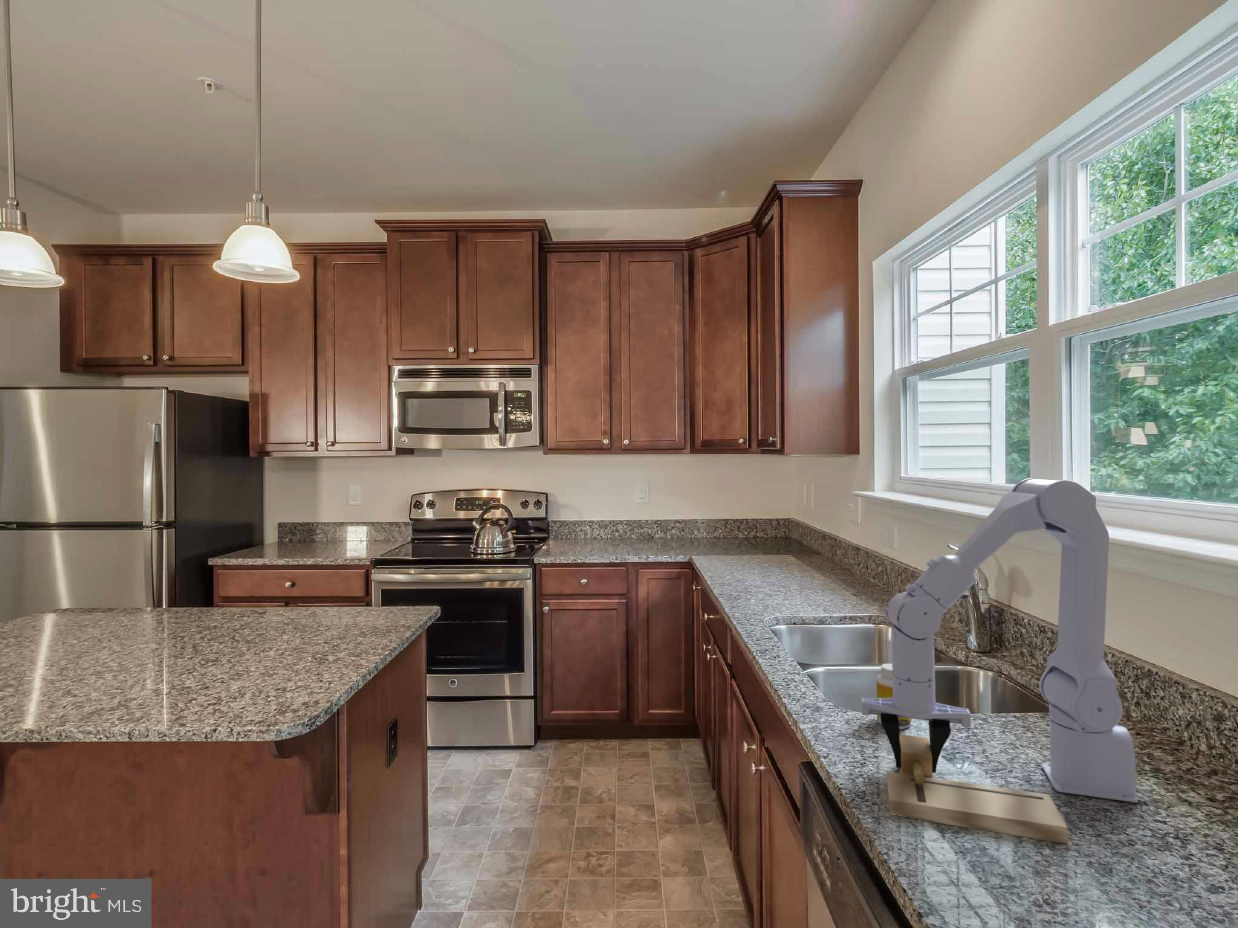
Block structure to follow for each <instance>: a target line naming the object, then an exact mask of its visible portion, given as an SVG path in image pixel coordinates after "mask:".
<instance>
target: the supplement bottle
mask: <svg viewBox="0 0 1238 928" xmlns="http://www.w3.org/2000/svg"><path fill="white" fill-rule="evenodd" d="M880 665H881V666H880V674H879V675H877V677H876V680H875V681H876V698H893V676H892V663H883V664H880ZM898 719H899V728H900V730H905V729H908V728H909V727H910V726H911V724H912V719H910V718H901V717H898ZM876 720H877V721H878V723H879V724H880V725H881V726H882V724H881V715H876Z"/></svg>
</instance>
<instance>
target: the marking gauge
mask: <svg viewBox="0 0 1238 928" xmlns="http://www.w3.org/2000/svg"><path fill="white" fill-rule="evenodd" d="M900 755H901V768H899V772H900V774H907V775H914V777H915V782H916V783H917V784H918V785H919V786H921V785H923V784H924V783H925V780H924V777H928V778H933V773H932V754H931V750H930V740H929V738H928V737H923V736H913V735H909V734H908V735H906V734H900Z"/></svg>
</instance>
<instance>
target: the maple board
mask: <svg viewBox="0 0 1238 928" xmlns="http://www.w3.org/2000/svg"><path fill="white" fill-rule="evenodd" d="M924 780H925V783H924V784H923V785H921V786H919V785H918V784H917V783H916V782H915V777H914V775H907V774H900V773H899V772H892V771H887V772H886V782H887V783H886V784H887V785H886V786H887V787H886V788H887V797H888V809H889V810H890V811H889V815H890V814H895V815H900V816H903V817H902V818H906V817H909V818H908V819H912V818H914V819H913V820H918V819H919V821H926V822H932V823H937V824H944V825H951V826H955V827H956V826H957V827H963V828H967V829H968V828H969V829H976V830H979V831H980V830H982V831H986V832H987V831H988V832H994V833H998V834H1005V835H1006V834H1007V835H1012V836H1016V837H1017V836H1019V837H1023V838H1024V837H1025V838H1030V839H1037V840H1043V841H1048V842H1055V843H1061V844H1067V845H1068V843H1069V842H1068V841H1069V840H1068V839H1069V838H1068V837H1069V836H1068V834H1069V833H1068V826H1067V824H1066V822H1065V820H1064V819H1063V817H1062V815H1061V813H1060V812H1059V810H1058V808H1057V806H1056V804H1055V803H1054V801H1053V799H1052V798H1051V795H1050V794H1048V793H1041V792H1034V791H1028V790H1020V789H1013V788H1006V787H1001V786H1000V787H997V786H992V785H983V784H976V783H971V782H965V781H963V782H962V781H957V780H955V781H954V780H950V779H949V780H948V779H940V778H934V777H932V778H928V777H924ZM900 816H899V817H900Z"/></svg>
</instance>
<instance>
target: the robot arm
mask: <svg viewBox="0 0 1238 928" xmlns="http://www.w3.org/2000/svg"><path fill="white" fill-rule="evenodd" d="M1096 504H1097V497H1096V495H1095V494H1093V493H1092V492H1090V491H1089V490H1088V489H1086V488H1085V487H1084V486H1082V485H1081V484H1080V483H1078V482H1076V481H1073V480H1069V479H1061V480H1053V479H1050V480H1049V479H1042V478H1041V479H1040V478H1034V477H1032V478H1031V477H1029V478H1025V479H1022V480H1020V481H1019V482H1017V483H1016V484H1015V485H1014V486H1013V487H1012V488H1011V491H1008V492H1007V493H1005V494H1004V495H1002V497H1001V498H1000V500H999V501H998V503H997V505H996V506H995V508H994V509H993V510H992V511H991V512H990V513H989V515H988V516H987V517H986V518H985V519H984V520H983V521H982V522H981V523H980V525H978V527H977V528H976V529H974V531H973V532H972V534H971V535H970V536H969V537H968V538H967V539H966V540H965V542H964V543H962V545H961V546H960V547H959V548H958V549H957V550H956V552H955V553H953V554H945V555H944V554H943V555H942V554H941V555H939V556H938V558H937V559H935V558H933V557H932V558H931V559H929V560H928V562H926V565H927V567H928V568H926V570H925V571H924V572H923V573H921V575H919V577H918V578H916V579H915V580H914V582H913V583H912V584H910V583H907V585H905V586H904V589H905V590H906V591H903V592H901V593H900V592H899V593H897V594H894V596H892V598H891V599H890V600H889V602H888V604H887V606H888V607H886V608H885V609H884V613H885V616H886V618H887V620H888V621H889V623H890V624H891V640H892V641H891V664H892V676H893V698H877V697H875V698H872V697H870V698H867V697H861V716H870V715H874V716H875V715H876V716H877V715H881V724H882V725H881V724H880V725H881V726H882V728H883V732H884V733H885V735H886V738H888V741H889V743H890V746H891V749H892V753H893V756H894V759H895V768H897V769H900V768H901V755H900V735H901V734H900V732H901V731H900V730H901V729H900V728H899V719H898V717H901V718H910V719H911V720H912V719H913V720H921V721H928V732H929V733H928V734H929V735H928V736H929V745H930V750H931V754H932V774H933V773H934V774H936V773H937V766H938V762H939V759H940V756H941V752H942V751H943V749H944V747H945V744H946V743H947V741H948V739H949V738H950V736H951V732H952V729H951V724H956V725H961V726H962V727H967V728H971V727H972V724H971V723H972V722H971V721H972V720H971V712H970V710H969V708H964V707H959V706H953V705H948V704H944V703H939V702H936V677H935V676H936V671H935V670H936V667H935V666H936V665H935V643H934V640H935V639H934V635H935V634H936V633H938V632H939V630H940V628H941V626H942V617H943V615H944V614H945V613H946V612H947V611H948V610H949V609H950V608H951V607H952V606H953V605H954V604H955V603H956V602H957V601H958V600H959V599H960V598H961V597H962V596H963V595H964V594H965V593H967V591H969V589H970V588H971V587H972V586H973V585H974V584H975V571H976V570H977V568H979V567H980V566H982V564H983V563H984V562H985V561H987V560H988V559H989V558H990V557H991V556H993V555H994V554H995V553H996V552H997V551H998V550H999V549H1000V548H1001V547H1003V545H1005V544H1006V543H1007V542H1008V541H1009V540H1010V539H1011V538H1013V536H1015V535H1016V534H1018V533H1024V532H1030V531H1037V530H1042V529H1043V530H1045V531H1047V533H1049V534H1050V535H1051V536H1052V537H1054V538H1055V539H1056V541H1058V542H1059V543H1060V545H1061V549H1060V551H1061V552H1060V575H1059V578H1060V579H1059V581H1060V582H1059V595H1058V597H1059V598H1058V599H1059V601H1058V620H1057V621H1058V623H1057V641H1056V642H1057V645H1056V649H1055V651H1053V652H1052V653H1050V655H1049V656H1048V657H1047V661H1046V668H1045V670H1044V672H1043V674H1042V675H1041V677H1040V679H1039V683H1038V684H1039V686H1038V687H1039V688H1038V689H1039V692H1040V695H1041V696H1042V697H1043V700H1045V701H1046V702H1047V703H1048V711H1049V713H1048V714H1049V715H1048V717H1049V718H1048V719H1049V756H1050V757H1049V762H1050V763H1045V762H1044V763H1041V768H1042V769H1043V771H1044V772H1045V775H1046V776H1047V778H1048V780H1049V781H1050V783H1051V785H1052V787H1053V788H1054V790H1055V791H1056V792H1059V793H1064V794H1071V795H1079V796H1085V797H1086V796H1087V797H1093V798H1094V797H1095V798H1101V799H1107V800H1108V799H1109V800H1116V801H1123V802H1131V803H1138V802H1139V798H1138V797H1137V796H1136V794H1137V793H1136V790H1137V788H1136V787H1137V786H1136V754H1135V753H1136V752H1135V747H1134V742H1133V738H1132V736H1131V733H1130V731H1129V730H1128V728H1126V727H1125V726H1122V725H1119V722H1120V721H1121V719H1122V717H1123V714H1124V713H1123V712H1124V707H1123V706H1124V705H1123V703H1122V700H1121V698H1120V696H1119V694H1118V690H1117V681H1118V680H1117V678H1116V677H1115V675H1114V674H1113V672H1112V670H1111V669H1110V667H1109V666H1108V664H1107V663H1106V660H1105V658H1104V656H1105V639H1106V638H1105V636H1106V635H1105V634H1106V617H1107V616H1106V614H1107V613H1106V611H1107V591H1108V590H1107V588H1108V566H1109V551H1110V549H1109V546H1110V535H1109V531H1108V529H1107V527H1106V525H1105V522H1104V521H1103V519H1102V517H1101V515H1100V513H1099V510H1098V509H1097V506H1096Z"/></svg>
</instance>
